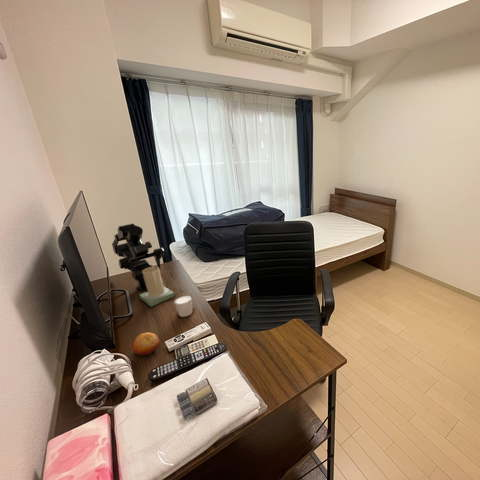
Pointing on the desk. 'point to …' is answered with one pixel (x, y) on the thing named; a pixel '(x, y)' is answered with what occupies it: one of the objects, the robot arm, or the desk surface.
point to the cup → (153, 281)
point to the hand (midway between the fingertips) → (149, 272)
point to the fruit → (145, 343)
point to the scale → (157, 297)
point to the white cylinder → (184, 306)
